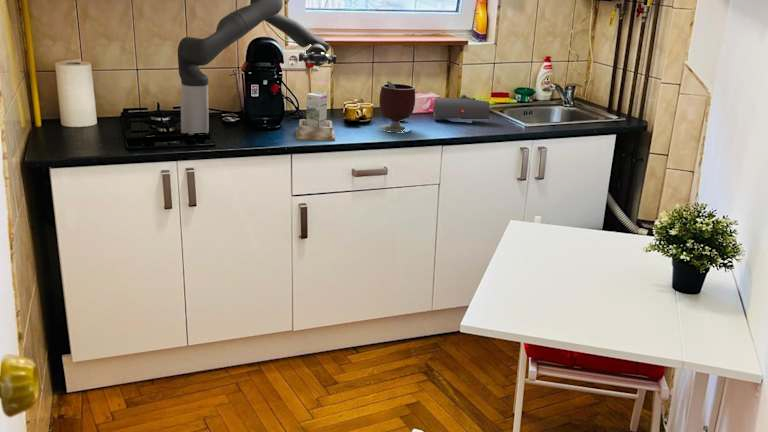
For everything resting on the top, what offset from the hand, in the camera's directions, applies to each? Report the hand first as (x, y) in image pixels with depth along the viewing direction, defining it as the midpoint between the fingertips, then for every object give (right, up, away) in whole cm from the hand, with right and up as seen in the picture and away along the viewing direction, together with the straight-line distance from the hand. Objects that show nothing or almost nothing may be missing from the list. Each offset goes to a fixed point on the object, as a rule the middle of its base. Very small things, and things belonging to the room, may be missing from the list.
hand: (317, 60), depth 287 cm
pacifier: (+31, -19, +32) cm, 48 cm away
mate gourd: (+29, -24, +15) cm, 40 cm away
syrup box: (0, -27, -3) cm, 27 cm away
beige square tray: (-1, -28, -3) cm, 28 cm away
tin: (+13, -19, +28) cm, 37 cm away
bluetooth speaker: (+57, -18, +38) cm, 71 cm away
